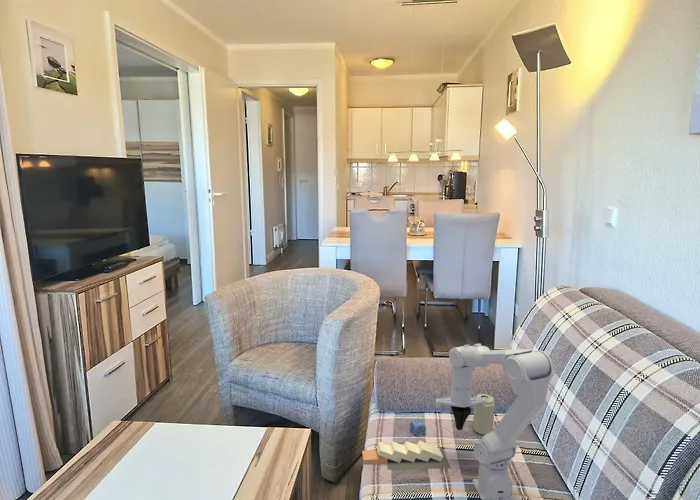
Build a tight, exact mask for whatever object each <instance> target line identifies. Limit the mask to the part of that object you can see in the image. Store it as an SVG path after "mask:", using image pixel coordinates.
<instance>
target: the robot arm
mask: <svg viewBox="0 0 700 500" xmlns="http://www.w3.org/2000/svg"><path fill="white" fill-rule="evenodd" d="M448 357H449V363H450V364H451V366H452V372H451V388H450V389H451V390H450V395H449V396H444V397H440V398H435V407H436V408H437V409H440V408H441V407H450V409H451V411H452V414H453V418H454V421H455V428H456V431H463V429H464V425H465V423H466V421H467V419H468V417H469V416H470V415H471V414H472V408H471V407H474V406H482V407H485V404H486V401H485V399H484V398H479V397H476V396H472V384H473V372H474V371H475V369H476V368H488V367H490V365H491V364H499V365H502V371H503V372H505V373H506V377H507V378H508V382H509V384H510V386H511V388H512V389H511V390H512V391H513V393H514V394H515V395H516V396H517V397H516V398H515V400H514V401H513V402H512V404H511V405H510V406H509V408H508V409H507V411H506V412H505V414H504V415H503V416H502V417H501V419H500V420H499V422H498V423H497V425H496V426H495V427H494V428H493V431H492V432H490V433H488V434H487V435H483V436H482V437H481V438H480V439H475V442H474V443H473V454H474V456H475V458H476V460H477V462H478V463H479V465H478V479H477V478H475V479H474V478H473V479H472V483H473V485H474V488H475V489H476V491H477V493H478V495H479V498H480V499H481V500H513V498H512V491H513V481H512V479H511V477H510V475H509V470H508V469H509V464H510V463H511V459H513V458H514V457H515V456H516V455H517V447H518V446H519V445H520V444H519V440H518V438H519V437H520V435H521V434H522V433H523V431H524V430H525V429H526V428H527V427H528V425H529V424H530V423H531V421H532V420H533V419H534V417H535V416H536V415H537V414H538V412H539V411H540V410H541V409H542V407H543V406H544V404H545V403H546V400H547V394H548V391H549V390H548V389H549V384H550V381H551V379H552V378H553V377H554V376H555V369H554V367H553V362H552V360H551V358H550V356H549V355H548V354H547V353H546V352H545V351H543V350H539V349H538V350H534V349H530V348H529V349H528V348H507V349H493V350H492V349H491V350H490V348H489V347H488V346H485V345H482V343H474V345H470V344H464V345H462V346H457V347H454V346H453V347H451V348H450V350H449V353H448Z"/></svg>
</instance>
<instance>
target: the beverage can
mask: <svg viewBox="0 0 700 500" xmlns="http://www.w3.org/2000/svg"><path fill="white" fill-rule="evenodd" d="M475 397H479V398H484V399H485V401H486V404H485V407H482V406H473V419H472V420H473V421H472V429H473V430H474V431H475V432H476V433H477V434H480V435H483V436H485V435H487V434H488V433H490V432H492V431H493V430H494V420H495V419H494V418H495V406H496V403H495V399H494V397H493V396H491V395H489V394H486V393H479V394H476V396H475Z"/></svg>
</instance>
